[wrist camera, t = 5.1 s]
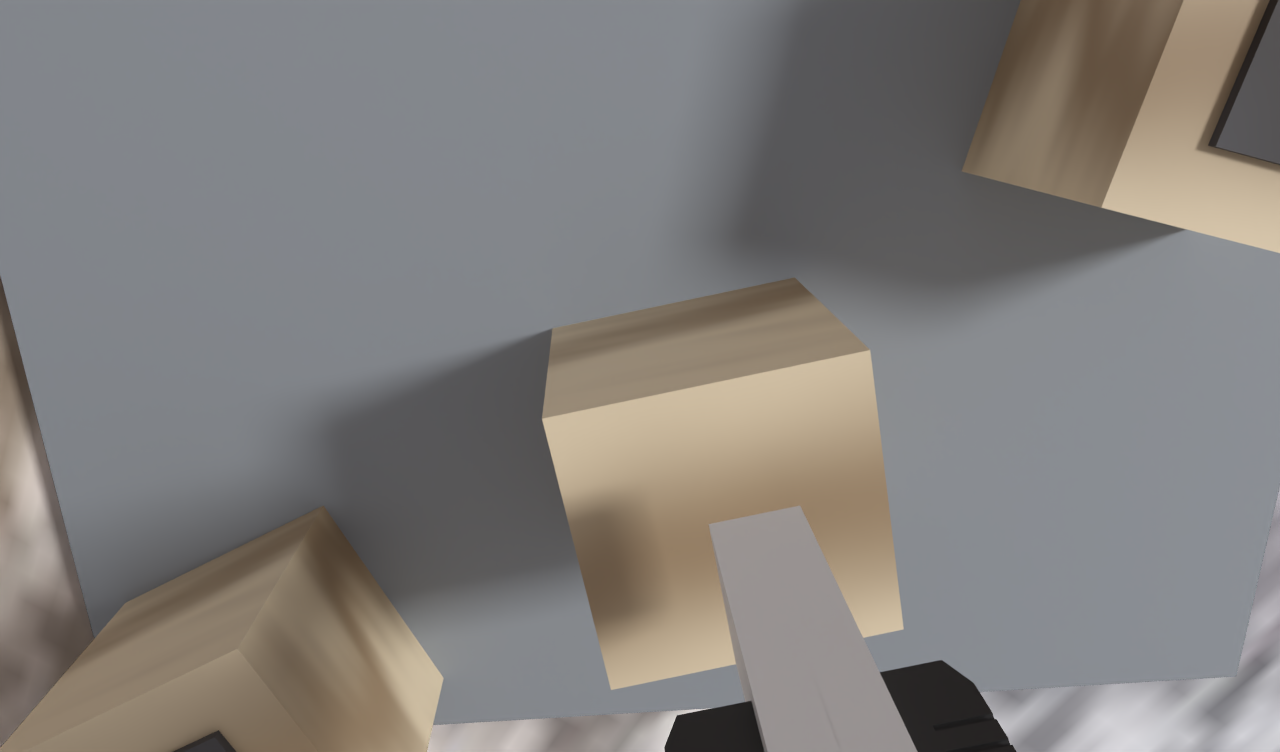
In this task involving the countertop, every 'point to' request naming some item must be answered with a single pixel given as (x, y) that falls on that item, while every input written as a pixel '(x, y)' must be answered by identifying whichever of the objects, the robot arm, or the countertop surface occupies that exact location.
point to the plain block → (713, 463)
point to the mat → (606, 286)
